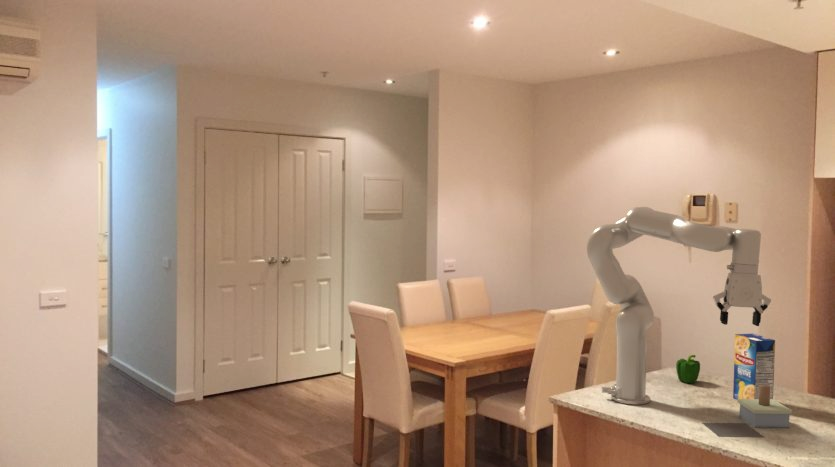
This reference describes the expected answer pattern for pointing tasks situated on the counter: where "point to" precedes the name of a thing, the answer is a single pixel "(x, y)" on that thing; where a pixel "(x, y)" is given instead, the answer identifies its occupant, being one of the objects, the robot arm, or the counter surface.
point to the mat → (732, 430)
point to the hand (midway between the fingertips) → (739, 324)
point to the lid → (764, 403)
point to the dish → (764, 419)
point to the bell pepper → (688, 369)
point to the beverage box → (753, 365)
